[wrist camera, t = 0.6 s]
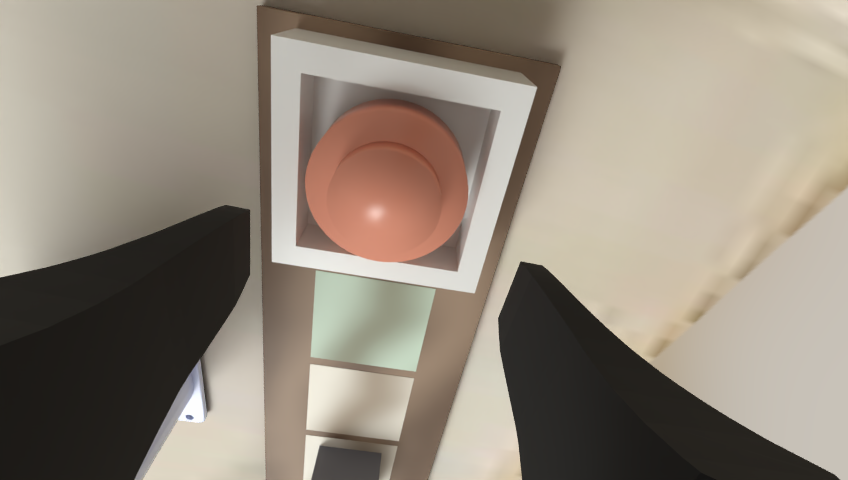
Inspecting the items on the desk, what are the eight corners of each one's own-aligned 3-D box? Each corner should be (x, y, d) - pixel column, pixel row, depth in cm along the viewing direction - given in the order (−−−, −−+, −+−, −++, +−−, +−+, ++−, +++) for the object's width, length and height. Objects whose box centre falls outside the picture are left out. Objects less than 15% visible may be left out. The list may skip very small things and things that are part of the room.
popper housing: (291, 228, 21) (271, 261, 18) (296, 28, 16) (270, 34, 14) (469, 257, 21) (474, 293, 19) (521, 72, 17) (537, 87, 14)
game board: (268, 479, 33) (265, 487, 32) (262, 5, 16) (256, 5, 16) (419, 497, 34) (419, 505, 33) (557, 64, 17) (561, 66, 17)
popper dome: (314, 225, 19) (295, 263, 16) (321, 84, 16) (299, 103, 13) (447, 247, 19) (450, 287, 16) (480, 114, 16) (490, 138, 13)
